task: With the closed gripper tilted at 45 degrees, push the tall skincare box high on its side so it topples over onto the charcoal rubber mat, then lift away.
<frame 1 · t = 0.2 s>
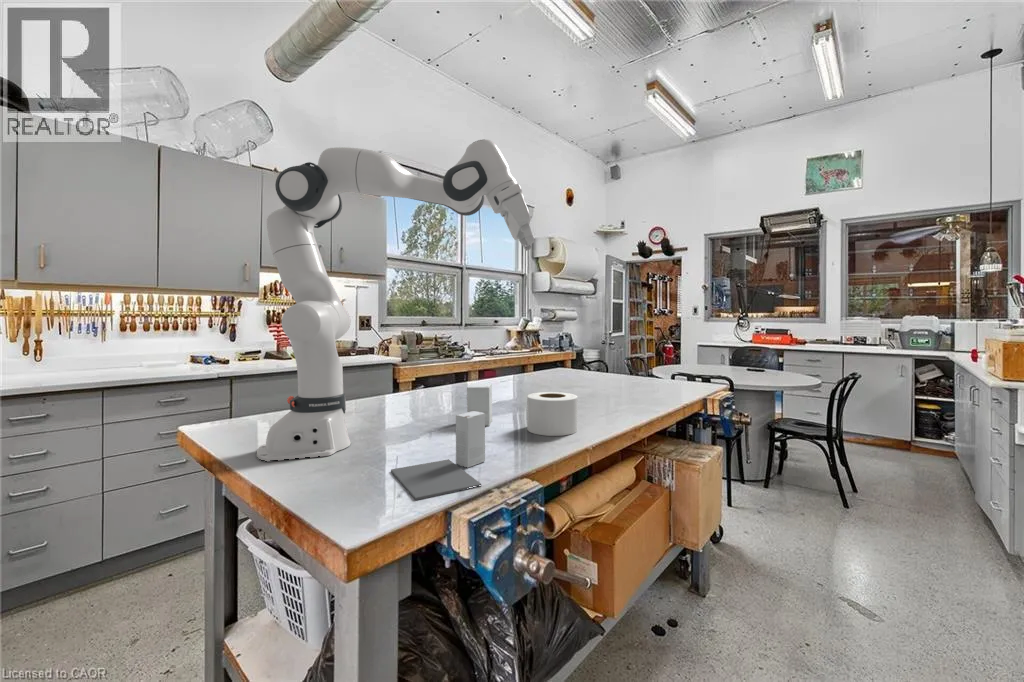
hand: (530, 246, 118), 54 cm above the workbench, tool tilted 25°, fingers open, 8 cm apart
skincare box: (470, 464, 106), on the workbench
rubber mat: (434, 478, 97), on the workbench
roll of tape: (552, 430, 138), on the workbench
supplement box: (480, 424, 145), on the workbench
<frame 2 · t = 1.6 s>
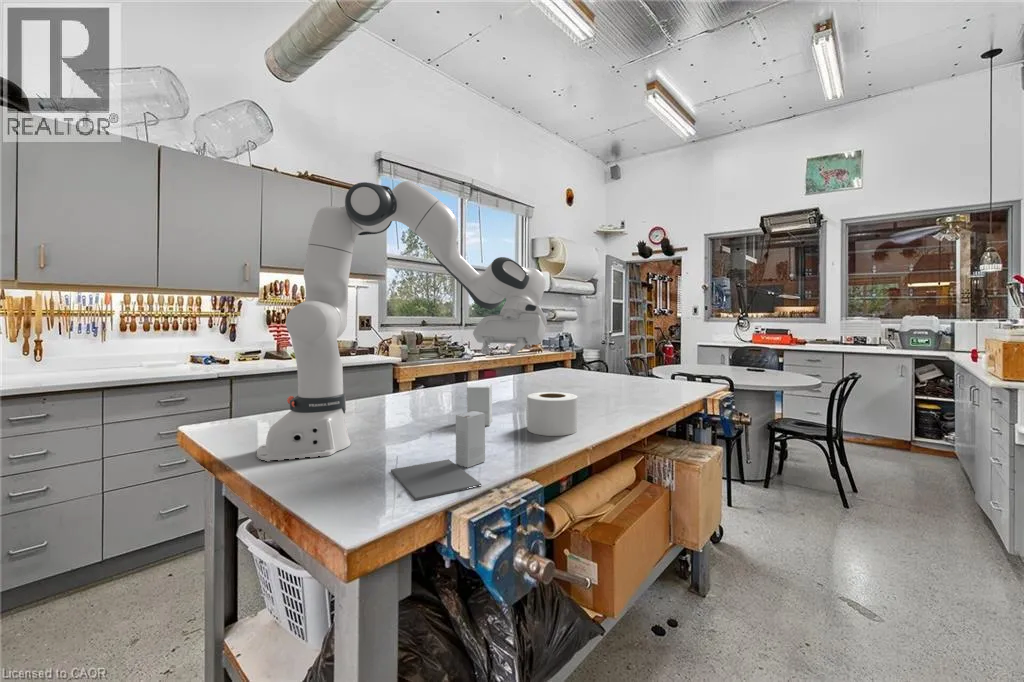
hand: (498, 353, 115), 26 cm above the workbench, tool tilted 45°, fingers open, 7 cm apart
nothing on the workbench moved.
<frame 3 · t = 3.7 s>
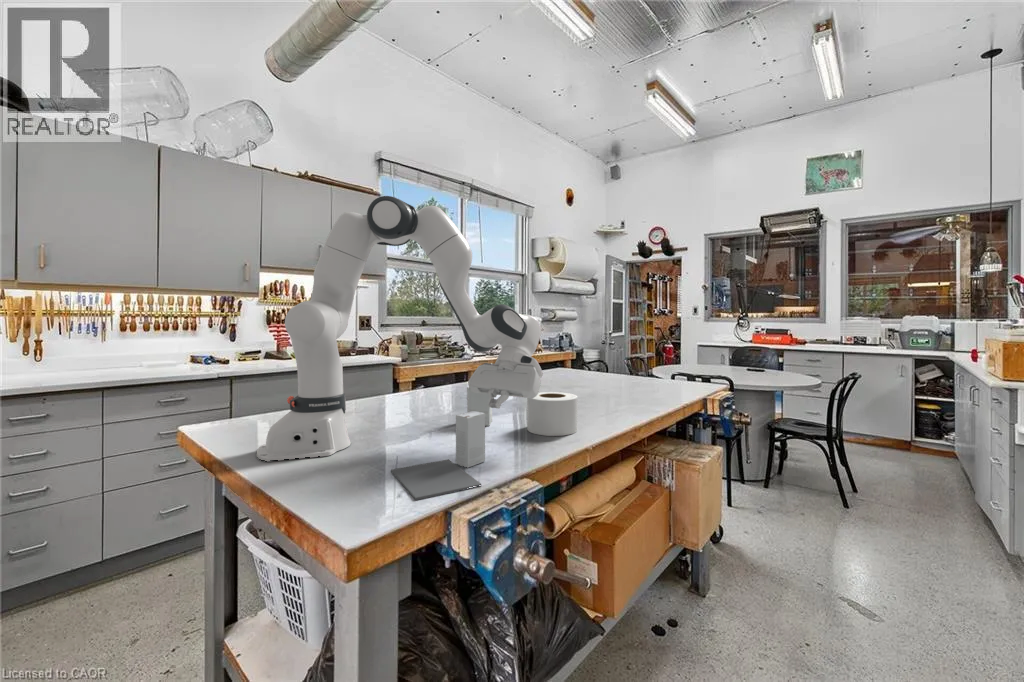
hand: (493, 406, 114), 12 cm above the workbench, tool tilted 45°, fingers closed
nothing on the workbench moved.
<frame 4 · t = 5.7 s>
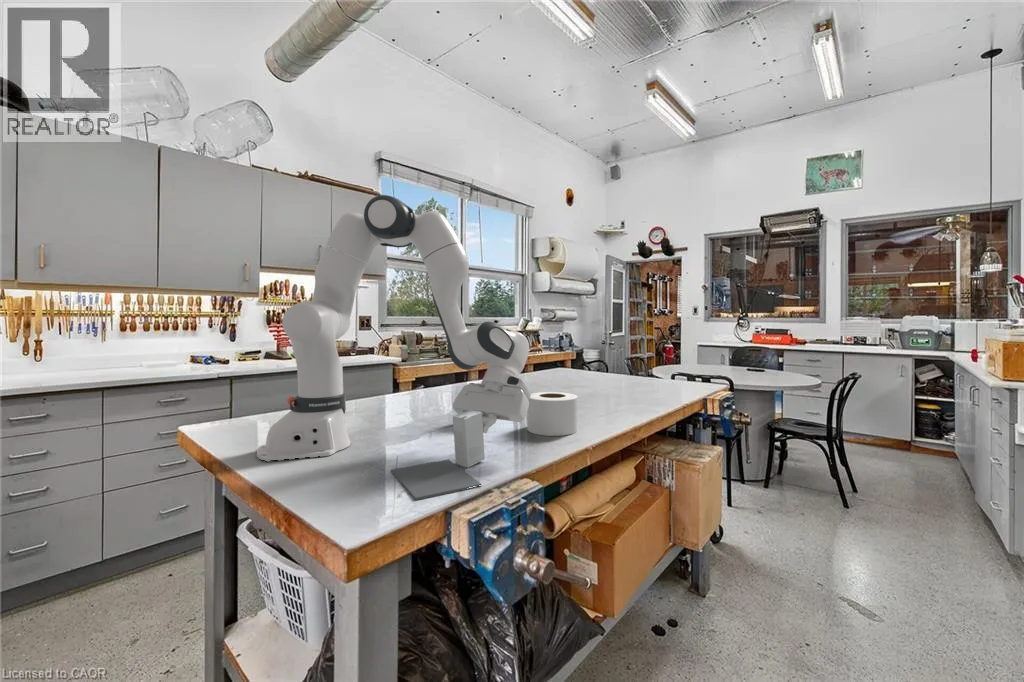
hand: (478, 431, 109), 7 cm above the workbench, tool tilted 45°, fingers closed
skincare box: (470, 463, 106), on the workbench, touching gripper
everything else where it was.
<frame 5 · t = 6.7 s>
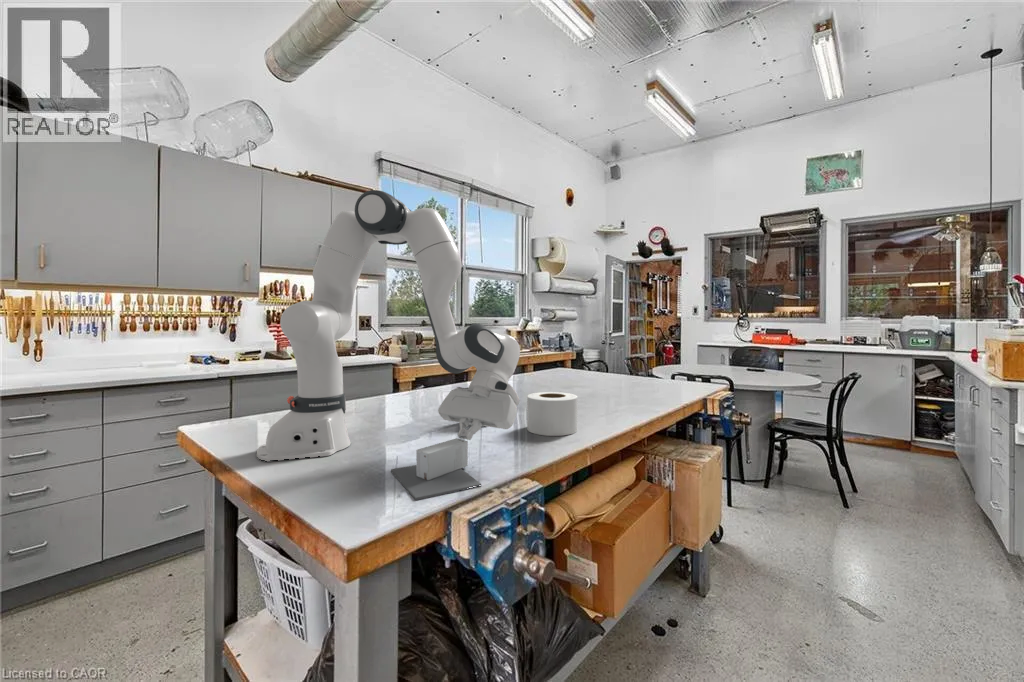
hand: (463, 438, 104), 7 cm above the workbench, tool tilted 45°, fingers closed
skincare box: (463, 452, 104), point 3 cm above the workbench, touching gripper, rubber mat
everything else where it was.
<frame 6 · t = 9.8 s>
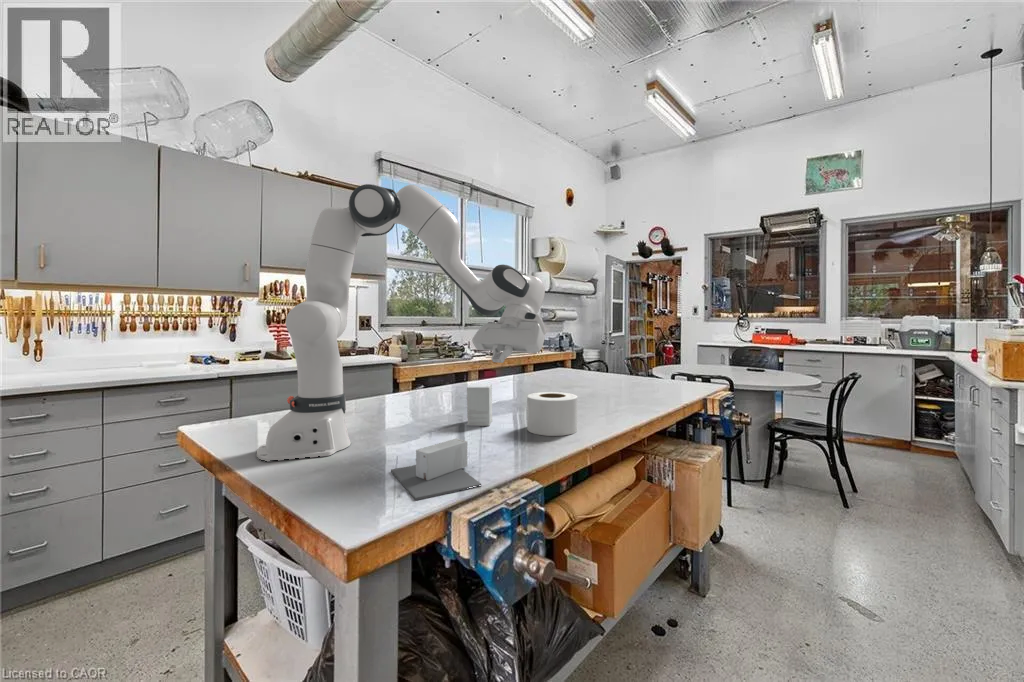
hand: (496, 361, 116), 23 cm above the workbench, tool tilted 45°, fingers closed
skincare box: (463, 452, 104), point 3 cm above the workbench, touching rubber mat
everything else where it was.
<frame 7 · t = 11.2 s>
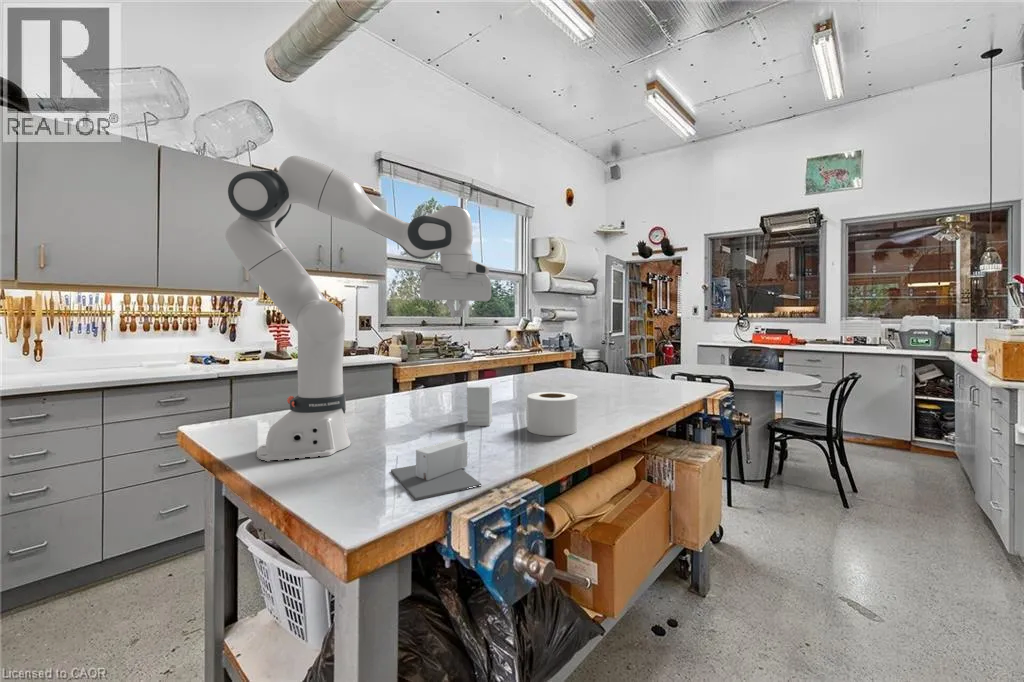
hand: (456, 316, 124), 35 cm above the workbench, tool pointing down, fingers closed
nothing on the workbench moved.
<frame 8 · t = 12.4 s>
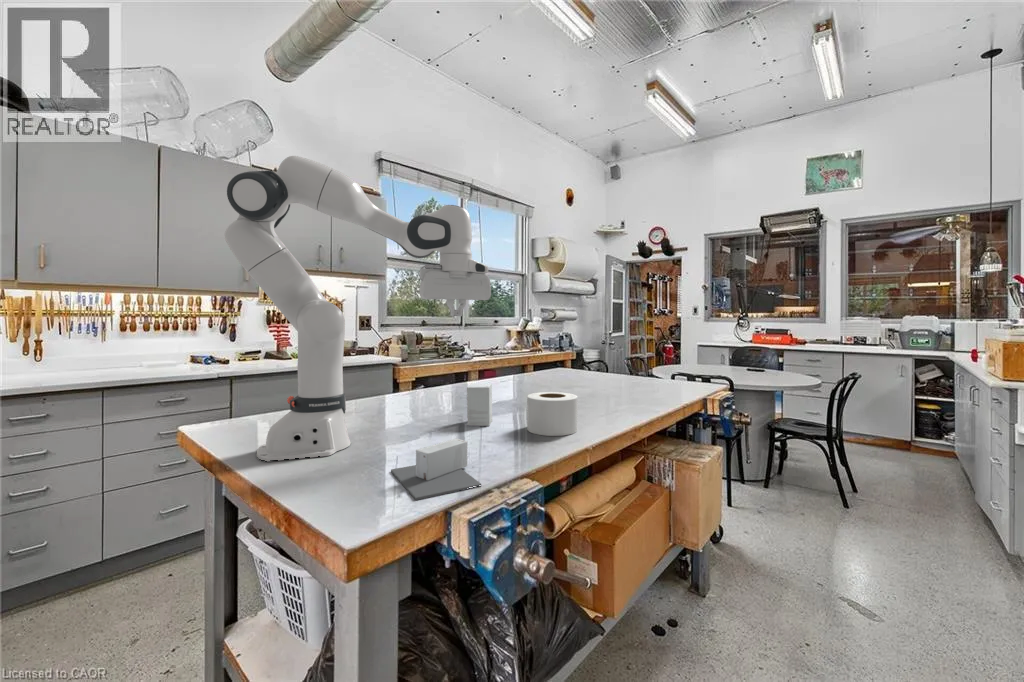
hand: (456, 316, 124), 35 cm above the workbench, tool pointing down, fingers closed
nothing on the workbench moved.
at the end: skincare box tilted 89°; skincare box touching rubber mat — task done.
